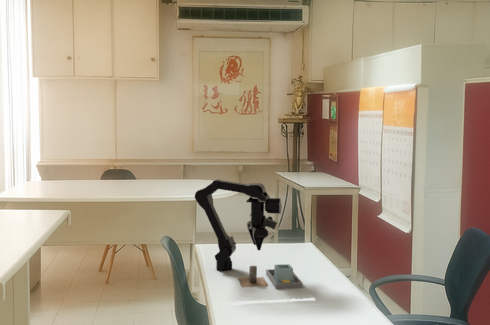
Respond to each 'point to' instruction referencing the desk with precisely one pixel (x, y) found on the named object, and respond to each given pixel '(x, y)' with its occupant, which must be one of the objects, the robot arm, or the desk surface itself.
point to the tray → (295, 284)
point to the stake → (252, 279)
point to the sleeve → (283, 273)
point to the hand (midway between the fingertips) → (257, 247)
